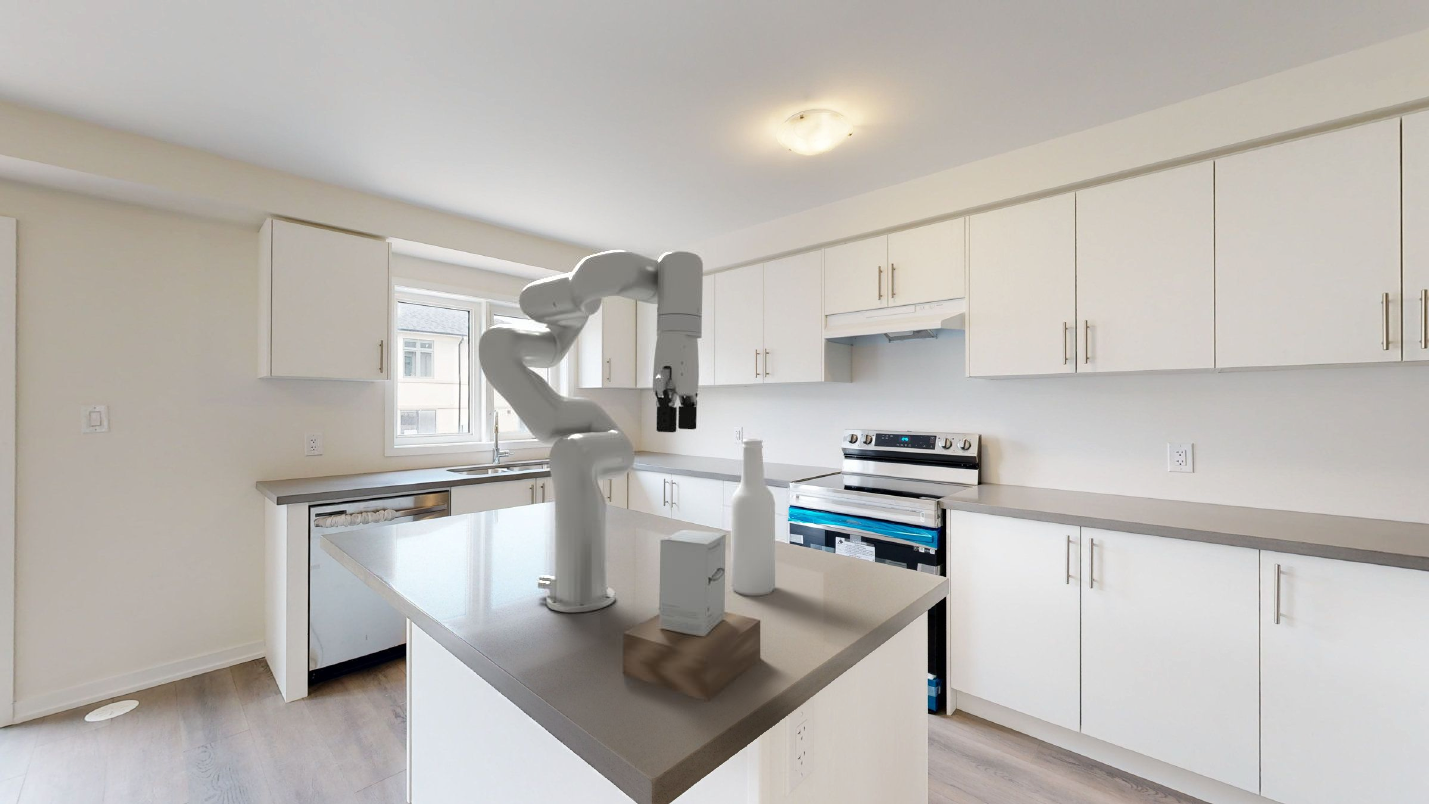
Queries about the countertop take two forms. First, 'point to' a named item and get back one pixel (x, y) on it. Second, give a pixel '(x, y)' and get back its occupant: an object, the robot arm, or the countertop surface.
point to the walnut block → (692, 655)
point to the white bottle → (752, 527)
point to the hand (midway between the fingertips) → (677, 430)
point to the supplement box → (692, 581)
